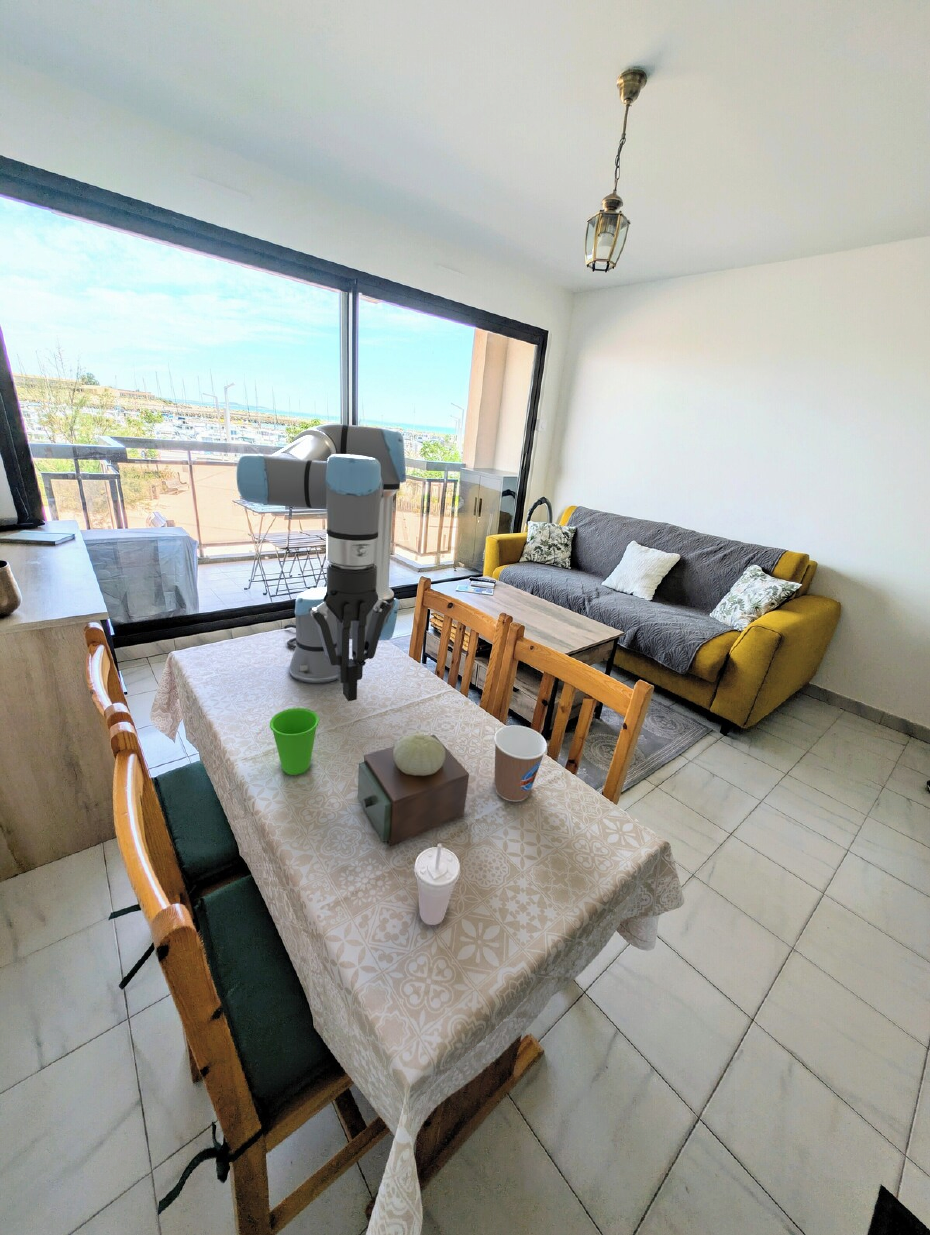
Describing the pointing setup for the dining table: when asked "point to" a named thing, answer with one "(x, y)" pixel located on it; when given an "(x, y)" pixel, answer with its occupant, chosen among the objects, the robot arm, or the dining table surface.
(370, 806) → the drawer
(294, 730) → the cup
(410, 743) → the sea urchin shell
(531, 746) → the coffee cup
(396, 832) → the cabinet
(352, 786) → the dining table surface
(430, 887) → the smoothie
